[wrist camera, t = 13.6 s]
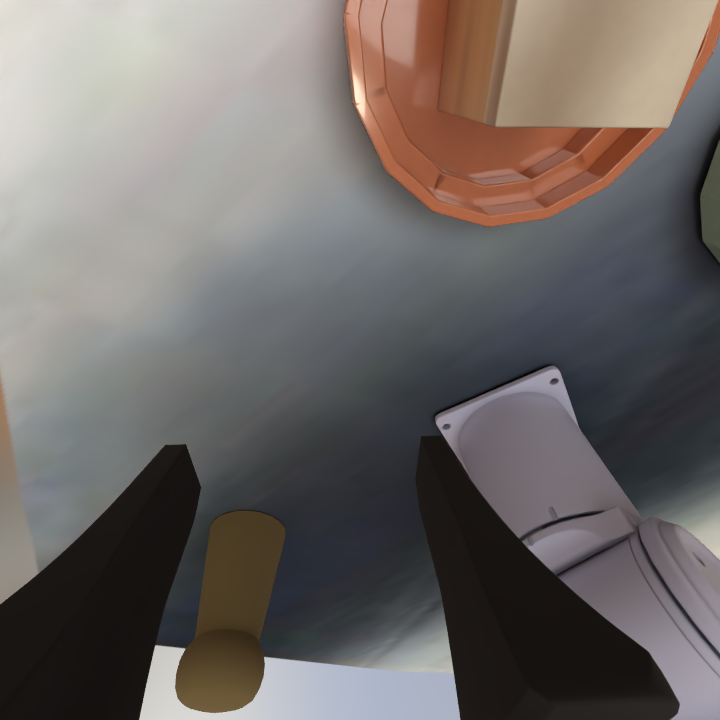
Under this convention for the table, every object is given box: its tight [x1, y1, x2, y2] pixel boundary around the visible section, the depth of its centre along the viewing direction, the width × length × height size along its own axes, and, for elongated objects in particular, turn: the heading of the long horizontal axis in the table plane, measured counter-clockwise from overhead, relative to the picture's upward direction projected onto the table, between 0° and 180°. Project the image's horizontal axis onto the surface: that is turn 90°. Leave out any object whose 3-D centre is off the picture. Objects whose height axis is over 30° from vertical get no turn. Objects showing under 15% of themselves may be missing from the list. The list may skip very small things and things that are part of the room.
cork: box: [175, 510, 286, 713], centre depth 28 cm, size 6×6×11 cm
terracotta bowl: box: [343, 0, 720, 227], centre depth 14 cm, size 12×12×3 cm
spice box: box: [438, 0, 718, 128], centre depth 12 cm, size 5×5×7 cm
